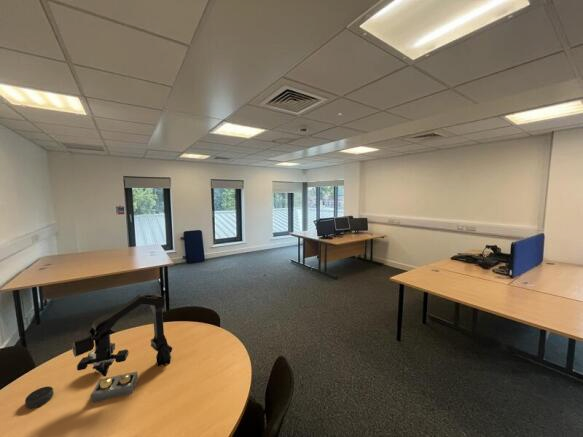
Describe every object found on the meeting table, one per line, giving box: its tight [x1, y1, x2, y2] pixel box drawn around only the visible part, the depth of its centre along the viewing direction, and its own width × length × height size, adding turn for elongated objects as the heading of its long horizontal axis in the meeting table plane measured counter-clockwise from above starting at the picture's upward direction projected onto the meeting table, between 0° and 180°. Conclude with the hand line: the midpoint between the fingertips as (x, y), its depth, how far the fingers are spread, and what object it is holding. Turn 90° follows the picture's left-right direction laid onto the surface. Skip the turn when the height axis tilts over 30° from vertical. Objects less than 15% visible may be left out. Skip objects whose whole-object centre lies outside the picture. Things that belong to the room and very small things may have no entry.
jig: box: [90, 371, 139, 404], centre depth 116 cm, size 16×10×4 cm, turn 110°
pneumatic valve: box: [87, 349, 113, 374], centre depth 130 cm, size 6×12×12 cm, turn 78°
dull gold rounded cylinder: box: [120, 372, 131, 385], centre depth 118 cm, size 4×4×6 cm
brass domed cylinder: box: [100, 376, 112, 390], centre depth 115 cm, size 4×4×6 cm
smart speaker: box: [24, 386, 54, 409], centre depth 110 cm, size 9×9×4 cm
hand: (105, 376), depth 115 cm, fingers closed
